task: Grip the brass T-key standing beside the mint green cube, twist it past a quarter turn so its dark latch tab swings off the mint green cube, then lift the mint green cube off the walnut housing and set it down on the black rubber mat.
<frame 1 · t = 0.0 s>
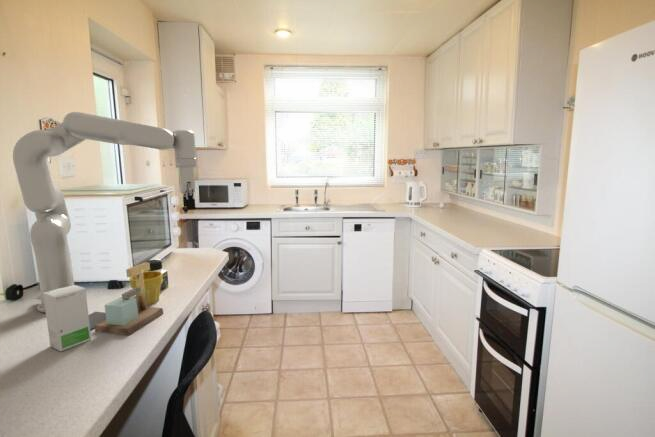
hand: (189, 207, 143), 31 cm above the worktop, tool pointing down, fingers open, 9 cm apart
medicine bottle: (155, 290, 143), on the worktop
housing: (130, 322, 116), on the worktop
plant pot: (148, 301, 132), on the worktop
skincare box: (71, 343, 104), on the worktop
mat: (92, 321, 117), on the worktop
t key: (137, 288, 118), point 9 cm above the worktop, hinge at 0.0°
mint green cube: (122, 320, 113), point 2 cm above the worktop, touching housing
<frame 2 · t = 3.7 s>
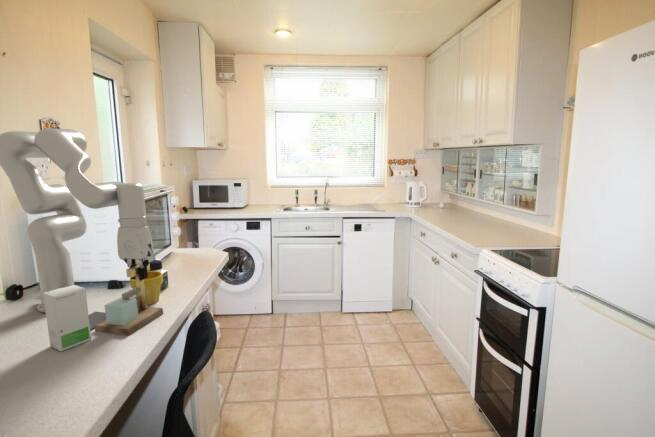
hand: (139, 277, 119), 13 cm above the worktop, tool pointing down, fingers closed on t key, 2 cm apart
t key: (137, 288, 118), point 9 cm above the worktop, hinge at 0.0°, touching gripper
everything else where it was.
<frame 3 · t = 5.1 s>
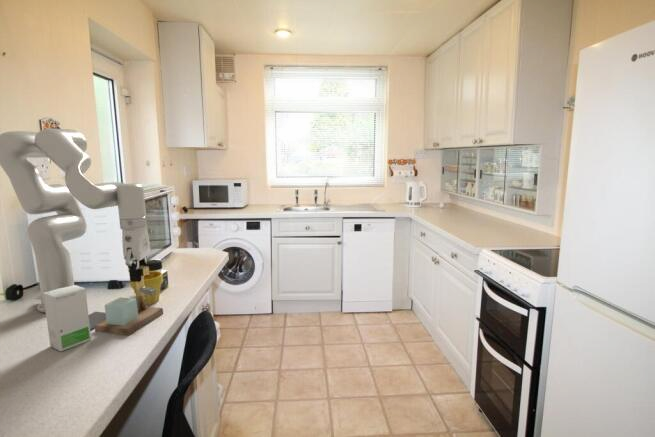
hand: (139, 277, 119), 13 cm above the worktop, tool pointing down, fingers closed on t key, 4 cm apart
t key: (143, 288, 119), point 9 cm above the worktop, hinge at 73.6°, touching gripper
everything else where it was.
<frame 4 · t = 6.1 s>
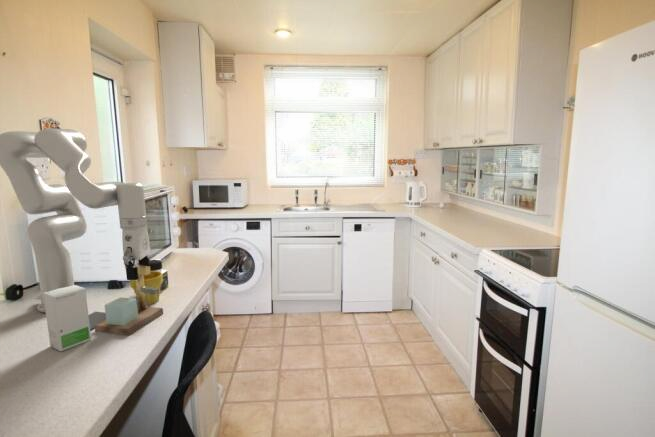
hand: (138, 274, 119), 14 cm above the worktop, tool pointing down, fingers open, 9 cm apart
t key: (143, 287, 119), point 9 cm above the worktop, hinge at 81.2°
everything else where it was.
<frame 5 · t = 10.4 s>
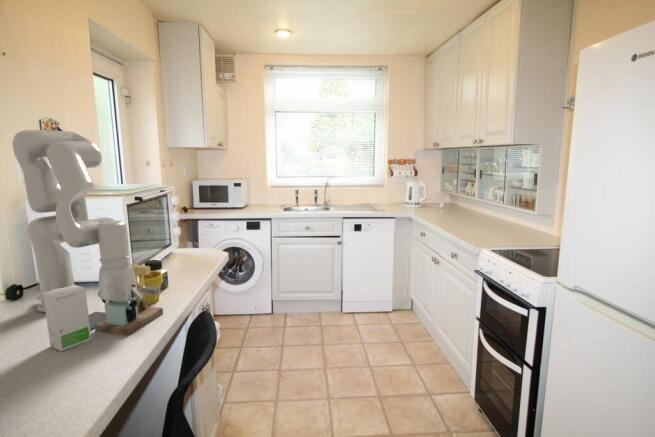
hand: (122, 318, 113), 3 cm above the worktop, tool pointing down, fingers closed on mint green cube, 6 cm apart
t key: (143, 287, 119), point 9 cm above the worktop, hinge at 81.9°
mint green cube: (122, 320, 113), point 2 cm above the worktop, touching gripper, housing
everything else where it was.
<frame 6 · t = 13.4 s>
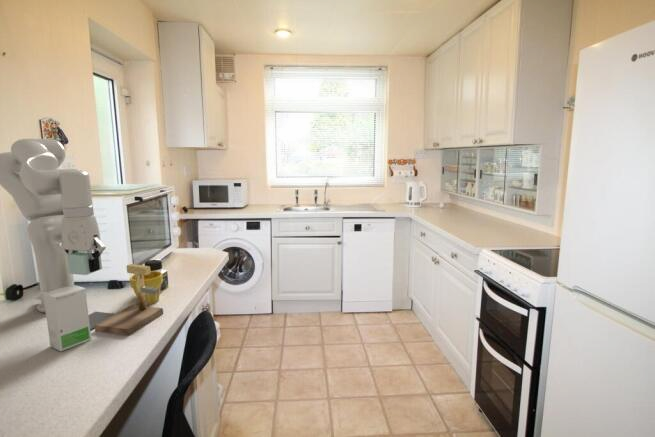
hand: (85, 269, 114), 17 cm above the worktop, tool pointing down, fingers closed on mint green cube, 6 cm apart
mint green cube: (86, 271, 114), point 17 cm above the worktop, touching gripper
everything else where it was.
when the fingers open (3 cm above the worktop, at t = 16.7 s): mint green cube drops 1 cm, resting on mat.
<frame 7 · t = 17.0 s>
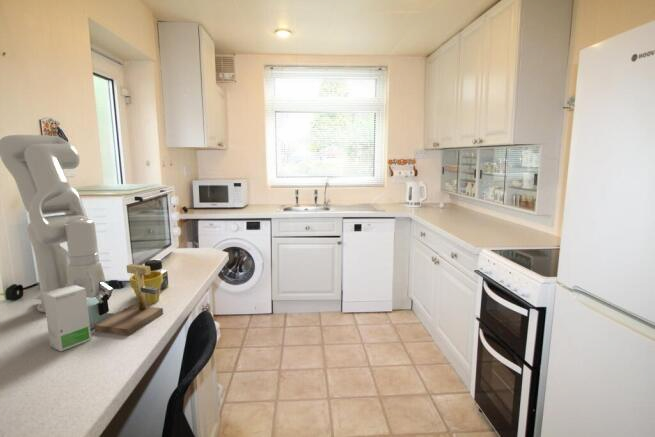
hand: (91, 311, 116), 3 cm above the worktop, tool pointing down, fingers open, 9 cm apart
mint green cube: (92, 320, 116), point 1 cm above the worktop, touching mat
everything else where it was.
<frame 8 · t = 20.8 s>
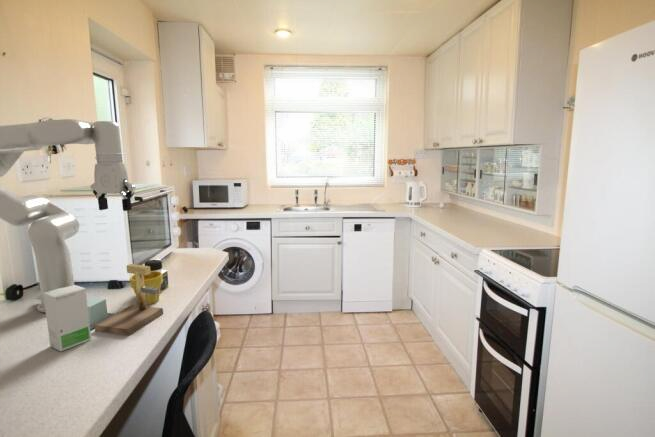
hand: (115, 209, 126), 33 cm above the worktop, tool pointing down, fingers open, 9 cm apart
nothing on the worktop moved.
at the end: t key at +82° (first picture: +0°); mint green cube inside the target area on the mat (0.1 cm from its centre), point 0.6 cm above the mat's base; mint green cube tilted 0° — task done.
